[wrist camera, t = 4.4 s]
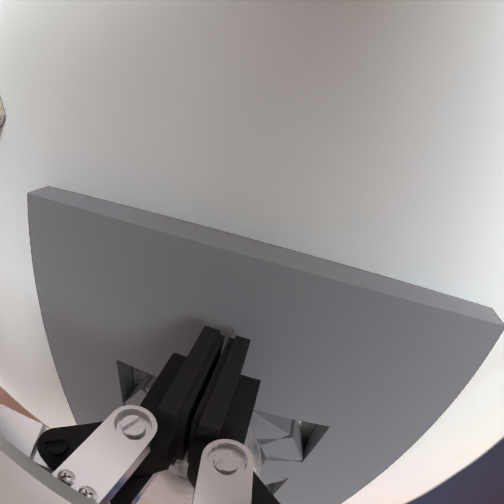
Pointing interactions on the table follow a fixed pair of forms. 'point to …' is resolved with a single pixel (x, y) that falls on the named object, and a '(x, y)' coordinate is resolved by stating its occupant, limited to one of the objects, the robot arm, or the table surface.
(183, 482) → the metal ball
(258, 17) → the table surface
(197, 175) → the table surface
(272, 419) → the hole board
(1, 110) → the coffee box
